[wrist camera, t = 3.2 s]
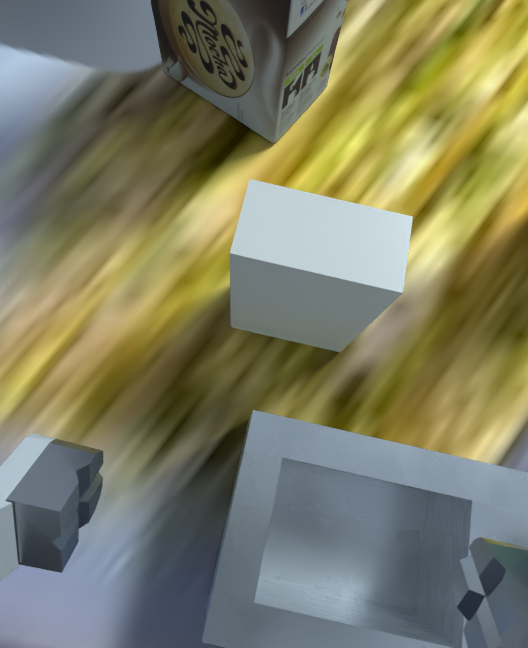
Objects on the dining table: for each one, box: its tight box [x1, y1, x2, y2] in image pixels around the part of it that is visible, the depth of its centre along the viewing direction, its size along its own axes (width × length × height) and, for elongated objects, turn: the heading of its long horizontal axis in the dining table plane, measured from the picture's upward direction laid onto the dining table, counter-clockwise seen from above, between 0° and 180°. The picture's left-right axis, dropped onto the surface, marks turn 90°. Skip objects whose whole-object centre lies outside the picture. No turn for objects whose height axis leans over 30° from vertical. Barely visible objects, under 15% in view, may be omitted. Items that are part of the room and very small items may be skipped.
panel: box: [230, 179, 413, 352], centre depth 19 cm, size 6×3×9 cm, turn 78°
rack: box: [202, 410, 528, 648], centre depth 16 cm, size 22×8×10 cm, turn 78°
